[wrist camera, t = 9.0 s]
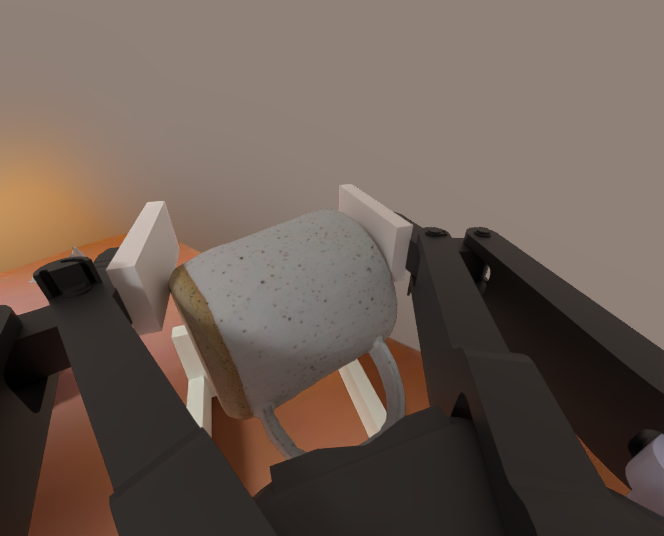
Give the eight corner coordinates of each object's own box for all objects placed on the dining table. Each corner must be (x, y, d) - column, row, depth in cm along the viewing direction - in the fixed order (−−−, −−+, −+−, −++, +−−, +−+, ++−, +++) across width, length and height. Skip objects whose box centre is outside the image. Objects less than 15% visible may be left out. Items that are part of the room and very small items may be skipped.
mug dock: (186, 643, 14) (126, 609, 10) (198, 390, 26) (173, 327, 22) (425, 519, 18) (454, 458, 14) (340, 350, 31) (342, 290, 26)
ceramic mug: (189, 353, 16) (141, 226, 12) (309, 297, 20) (306, 190, 16) (290, 566, 9) (262, 439, 5) (440, 409, 13) (494, 273, 9)
